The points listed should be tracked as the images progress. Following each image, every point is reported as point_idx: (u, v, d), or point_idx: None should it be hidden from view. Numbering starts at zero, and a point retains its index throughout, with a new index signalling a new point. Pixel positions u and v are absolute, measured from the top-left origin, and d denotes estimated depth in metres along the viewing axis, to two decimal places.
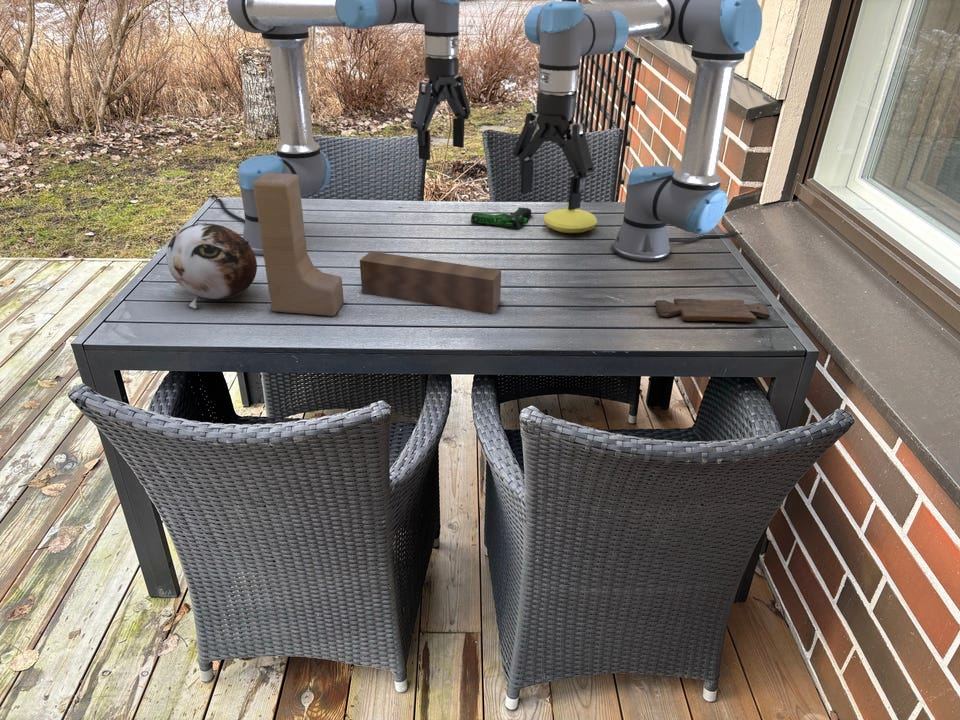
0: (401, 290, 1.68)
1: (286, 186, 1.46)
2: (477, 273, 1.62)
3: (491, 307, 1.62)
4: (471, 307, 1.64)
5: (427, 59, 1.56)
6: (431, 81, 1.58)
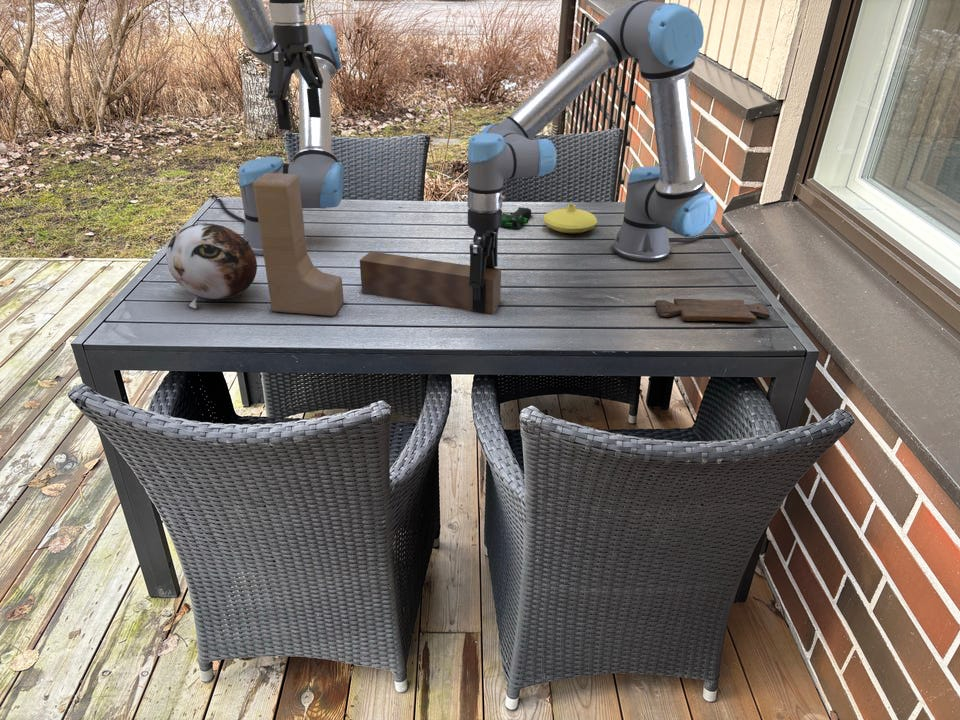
0: (401, 290, 1.68)
1: (286, 186, 1.46)
2: None
3: (491, 307, 1.62)
4: (471, 307, 1.64)
5: (276, 27, 1.55)
6: (283, 49, 1.57)
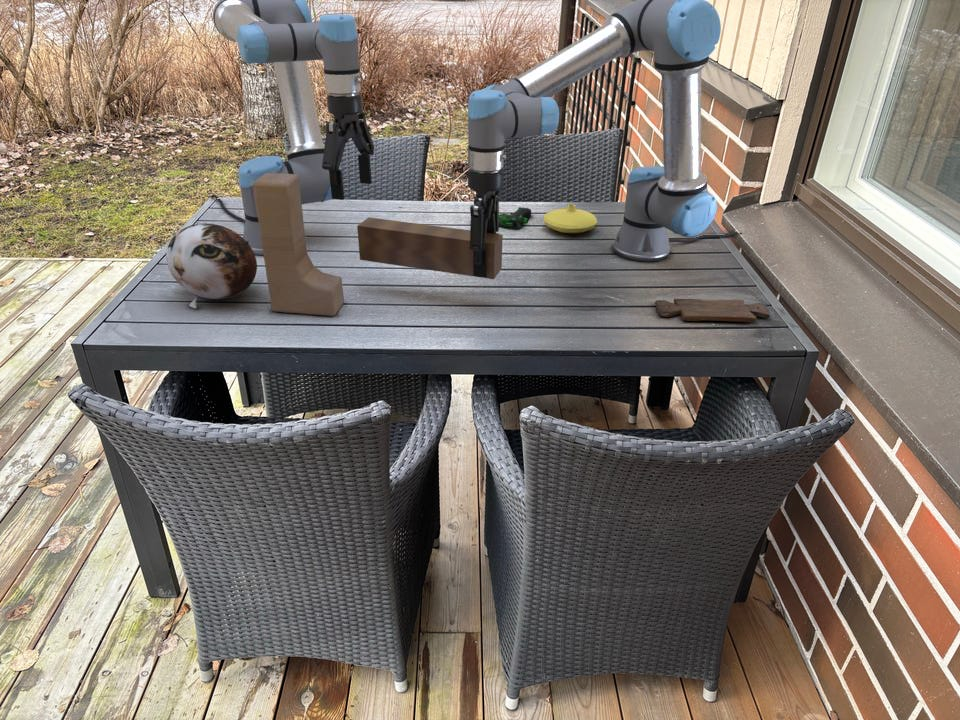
0: (400, 256, 1.64)
1: (286, 186, 1.46)
2: None
3: (492, 272, 1.58)
4: (471, 273, 1.60)
5: (330, 98, 1.53)
6: (337, 120, 1.54)
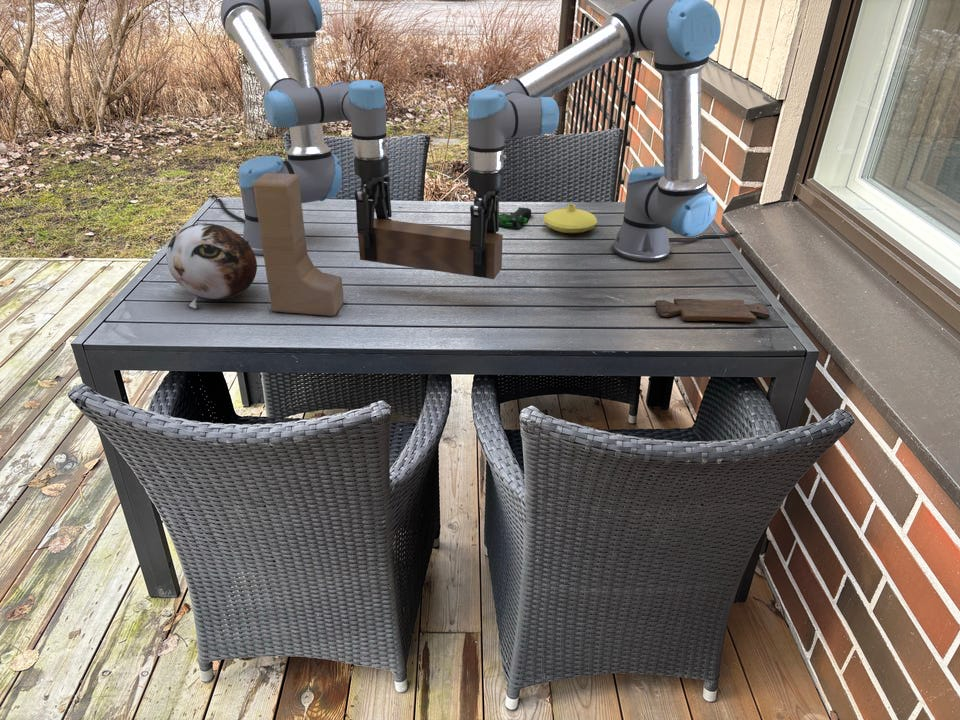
0: (400, 256, 1.64)
1: (286, 186, 1.46)
2: None
3: (492, 272, 1.58)
4: (471, 273, 1.60)
5: (358, 161, 1.55)
6: (364, 182, 1.57)
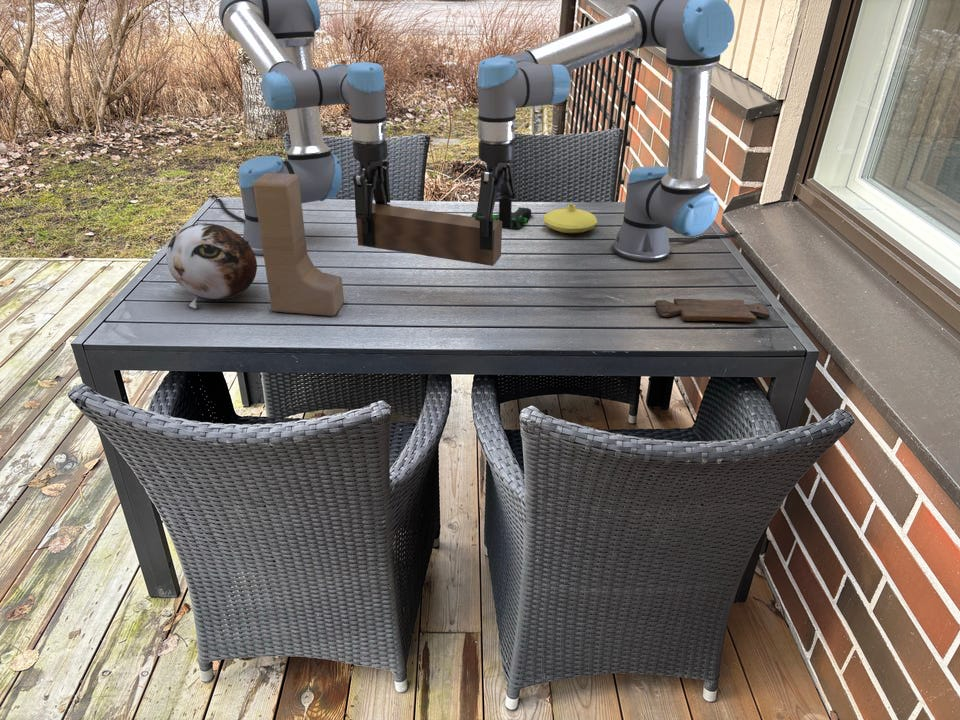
0: (398, 242, 1.62)
1: (286, 186, 1.46)
2: (477, 223, 1.56)
3: (492, 259, 1.57)
4: (470, 259, 1.59)
5: (356, 145, 1.53)
6: (362, 166, 1.55)
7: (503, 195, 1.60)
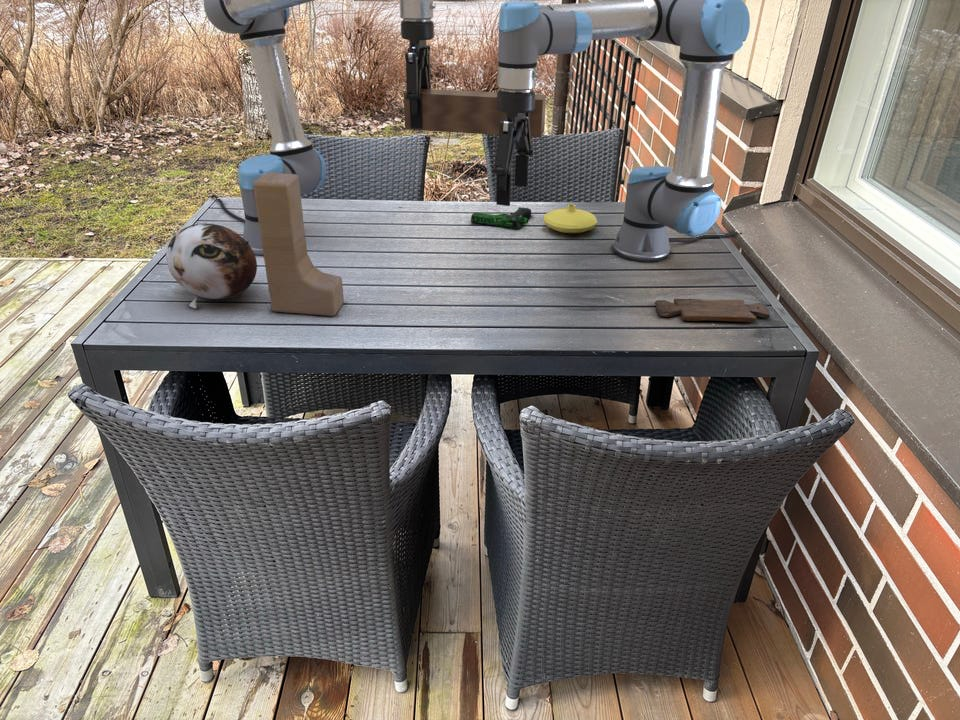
0: (446, 121, 1.69)
1: (286, 186, 1.46)
2: None
3: (539, 130, 1.66)
4: None
5: (406, 23, 1.60)
6: (412, 45, 1.61)
7: (520, 151, 1.53)
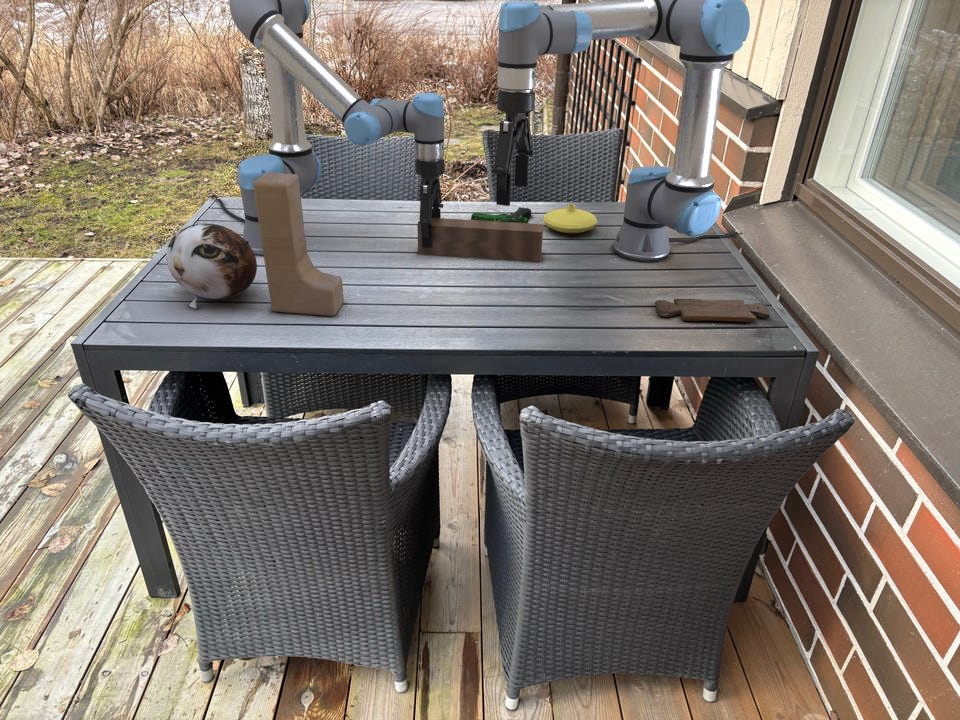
0: (456, 248, 1.91)
1: (286, 186, 1.46)
2: (525, 227, 1.88)
3: (539, 256, 1.89)
4: (520, 258, 1.90)
5: (421, 163, 1.80)
6: (426, 181, 1.82)
7: (520, 151, 1.53)
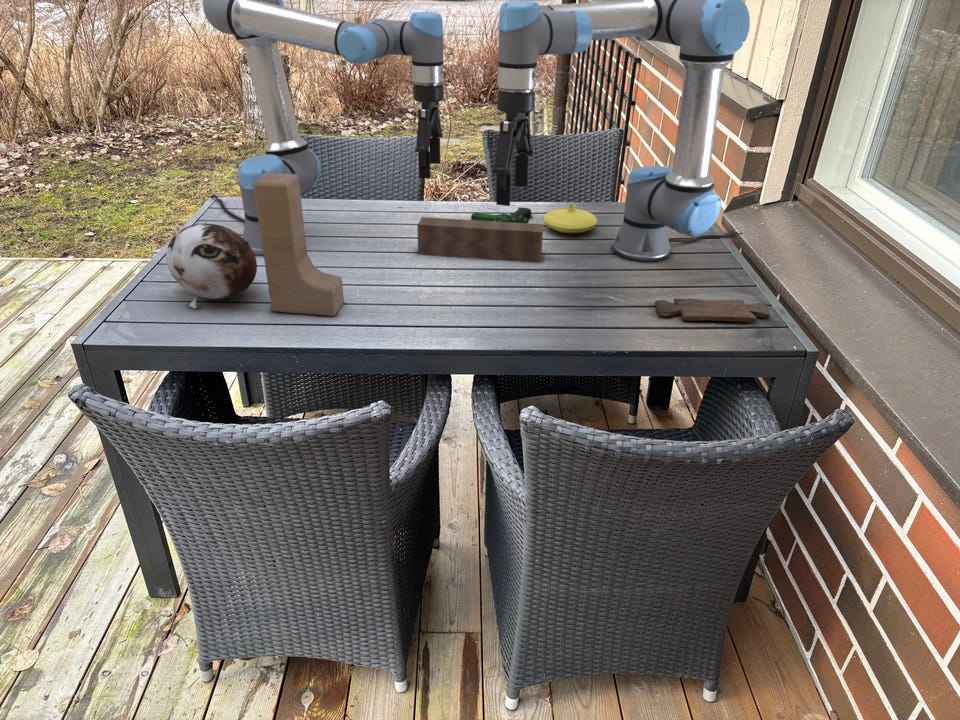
0: (456, 248, 1.91)
1: (286, 186, 1.46)
2: (525, 227, 1.88)
3: (539, 256, 1.89)
4: (520, 258, 1.90)
5: (419, 87, 1.71)
6: (425, 107, 1.72)
7: (520, 151, 1.53)
